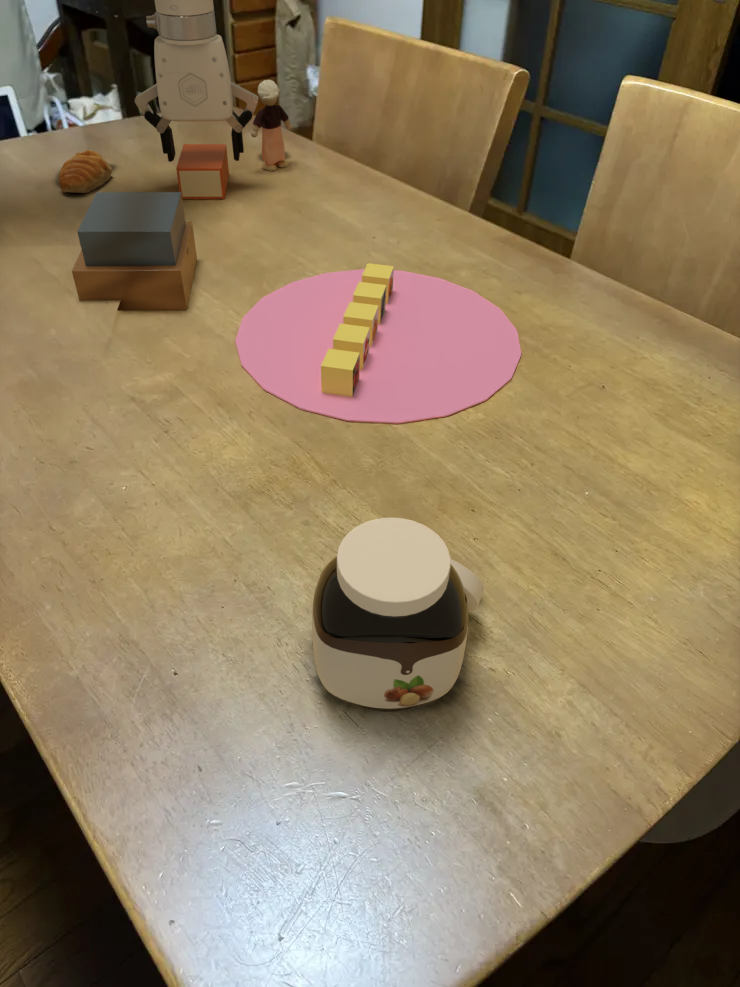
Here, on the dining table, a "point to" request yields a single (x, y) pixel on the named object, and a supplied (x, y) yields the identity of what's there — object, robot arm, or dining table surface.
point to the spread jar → (392, 617)
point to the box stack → (136, 251)
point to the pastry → (84, 172)
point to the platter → (378, 345)
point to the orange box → (203, 171)
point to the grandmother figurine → (271, 126)
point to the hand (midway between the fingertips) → (204, 158)
